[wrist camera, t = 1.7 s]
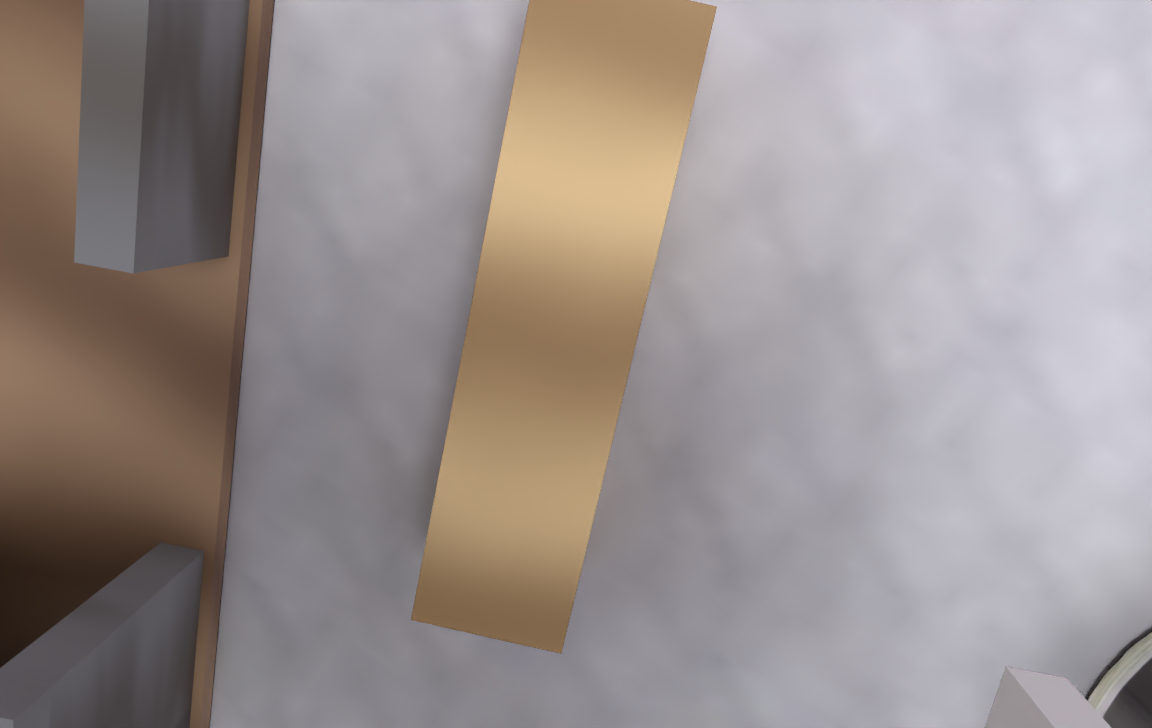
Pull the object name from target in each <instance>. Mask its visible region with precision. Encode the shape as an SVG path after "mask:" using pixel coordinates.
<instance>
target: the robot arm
mask: <svg viewBox="0 0 1152 728" xmlns="http://www.w3.org/2000/svg"><path fill="white" fill-rule="evenodd" d="M985 728H1111V727H1110V726H1109V724H1108V723H1107V722H1106V721H1105V720H1104V719H1103V718H1102V717H1101V716H1100V714H1099V713H1098V712H1097V711H1096V710H1095V709H1094V708H1093V707H1092V705H1091V704H1090V703H1089V702H1088V701H1087V700H1086V699H1085V698H1084V697H1083V695H1082V694H1081V693H1080V692H1079V691H1078V690H1077V689H1076V688H1075V686H1074V685H1073V684H1072V683H1071V682H1070V681H1069V680H1068V679H1067V678H1064V677H1059V676H1054V675H1048V674H1043V673H1038V672H1033V671H1027V670H1022V669H1017V668H1012V667H1006V668H1005V671H1004V674H1003V676H1002V679H1001V682H1000V685H999V688H998V691H997V694H996V697H995V700H994V702H993V705H992V708H991V711H990V714H989V717H988V720H987V723H986V725H985Z"/></svg>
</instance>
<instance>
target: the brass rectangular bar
mask: <svg viewBox="0 0 1152 728" xmlns="http://www.w3.org/2000/svg"><path fill="white" fill-rule="evenodd" d="M716 8H717V7H716V6H711V5H707V4H702V3H698V2H694V1H689V0H530V1H529V6H528V11H527V16H526V21H525V27H524V32H523V37H522V42H521V48H520V53H519V58H518V63H517V68H516V74H515V79H514V84H513V89H512V95H511V100H510V105H509V110H508V115H507V121H506V126H505V131H504V136H503V142H502V147H501V152H500V157H499V162H498V168H497V173H496V178H495V183H494V189H493V194H492V199H491V204H490V209H489V215H488V220H487V225H486V230H485V236H484V241H483V246H482V251H481V256H480V262H479V267H478V272H477V277H476V283H475V288H474V293H473V298H472V304H471V309H470V314H469V319H468V324H467V330H466V335H465V340H464V345H463V351H462V356H461V361H460V366H459V371H458V377H457V382H456V387H455V392H454V398H453V403H452V408H451V413H450V418H449V424H448V429H447V434H446V439H445V445H444V450H443V455H442V460H441V465H440V471H439V476H438V481H437V486H436V492H435V497H434V502H433V507H432V512H431V518H430V523H429V528H428V533H427V539H426V544H425V549H424V554H423V559H422V565H421V570H420V575H419V580H418V586H417V591H416V596H415V601H414V606H413V612H412V617H411V620H414V621H418V622H423V623H427V624H432V625H436V626H440V627H445V628H449V629H454V630H458V631H463V632H467V633H472V634H476V635H481V636H485V637H489V638H494V639H498V640H503V641H507V642H512V643H516V644H521V645H525V646H530V647H534V648H538V649H543V650H547V651H552V652H556V653H562V649H563V644H564V640H565V636H566V632H567V628H568V624H569V620H570V615H571V611H572V607H573V603H574V599H575V595H576V590H577V586H578V582H579V578H580V574H581V570H582V565H583V561H584V557H585V553H586V549H587V545H588V541H589V536H590V532H591V528H592V524H593V520H594V516H595V511H596V507H597V503H598V499H599V495H600V491H601V486H602V482H603V478H604V474H605V470H606V466H607V462H608V457H609V453H610V449H611V445H612V441H613V437H614V432H615V428H616V424H617V420H618V416H619V412H620V407H621V403H622V399H623V395H624V391H625V387H626V383H627V378H628V374H629V370H630V366H631V362H632V358H633V353H634V349H635V345H636V341H637V337H638V333H639V328H640V324H641V320H642V316H643V312H644V308H645V304H646V299H647V295H648V291H649V287H650V283H651V279H652V274H653V270H654V266H655V262H656V258H657V254H658V249H659V245H660V241H661V237H662V233H663V229H664V225H665V220H666V216H667V212H668V208H669V204H670V200H671V195H672V191H673V187H674V183H675V179H676V175H677V170H678V166H679V162H680V158H681V154H682V150H683V146H684V141H685V137H686V133H687V129H688V125H689V121H690V116H691V112H692V108H693V104H694V100H695V96H696V91H697V87H698V83H699V79H700V75H701V71H702V67H703V62H704V58H705V54H706V50H707V46H708V42H709V37H710V33H711V29H712V25H713V21H714V17H715V13H716Z"/></svg>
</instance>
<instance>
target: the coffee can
mask: <svg viewBox="0 0 1152 728" xmlns="http://www.w3.org/2000/svg"><path fill="white" fill-rule="evenodd" d="M1088 702H1089V703H1090V704H1091V705H1092V707H1093V708H1094V709H1095V710H1096V711H1097V712H1098V713H1099V714H1100V716H1101V717H1102V718H1103V719H1104V720H1105V721H1106V722H1107V723H1108V724H1109V726H1110V727H1111V728H1152V632H1151V633H1150V634H1148V635H1147V636H1145V637H1144V638H1143V639H1141V640H1140V641H1138V642H1137V643H1135V644H1134V645H1133V646H1131V647H1130V648H1129V649H1128V650H1127V651H1126V652H1125V654H1124V655H1123V656H1122V657H1121V659H1120V660H1119V661H1118V662H1117V663H1116V664H1115V665H1114V666H1113V667H1112V668H1111V669H1110V670H1109V671H1108V672H1107V673H1106V674H1105V675H1104V676H1103V678H1102V679H1101V681H1100V682H1099V684H1098V685H1097V687H1096V688H1095V689H1094V691H1093V692H1092V693H1091V695H1090V697H1089V699H1088Z"/></svg>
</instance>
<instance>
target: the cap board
mask: <svg viewBox="0 0 1152 728" xmlns="http://www.w3.org/2000/svg"><path fill="white" fill-rule="evenodd" d="M273 7H274V0H0V728H209V725H210V714H211V703H212V691H213V680H214V669H215V658H216V646H217V635H218V624H219V613H220V602H221V590H222V579H223V568H224V557H225V546H226V534H227V523H228V512H229V501H230V489H231V478H232V467H233V456H234V445H235V433H236V422H237V411H238V400H239V389H240V377H241V366H242V355H243V344H244V332H245V321H246V310H247V299H248V288H249V276H250V265H251V254H252V243H253V232H254V220H255V209H256V198H257V187H258V175H259V164H260V153H261V142H262V131H263V119H264V108H265V97H266V86H267V75H268V63H269V52H270V41H271V30H272V19H273Z"/></svg>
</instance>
